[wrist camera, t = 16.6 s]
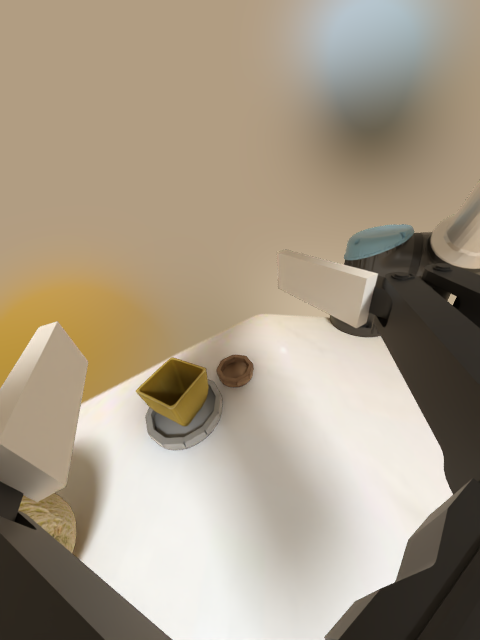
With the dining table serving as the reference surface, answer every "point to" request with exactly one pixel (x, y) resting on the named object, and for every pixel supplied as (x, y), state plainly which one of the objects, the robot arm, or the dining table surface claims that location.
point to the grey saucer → (195, 432)
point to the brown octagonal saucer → (235, 370)
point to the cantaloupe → (52, 518)
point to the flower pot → (176, 390)
